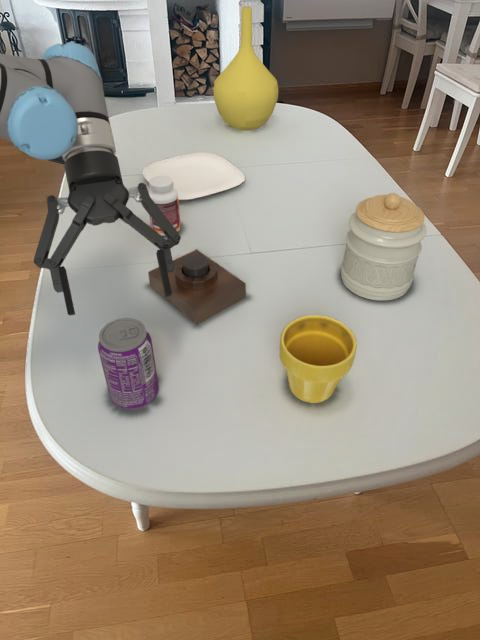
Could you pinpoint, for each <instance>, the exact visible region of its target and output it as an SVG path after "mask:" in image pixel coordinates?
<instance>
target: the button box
mask: <svg viewBox="0 0 480 640" xmlns="http://www.w3.org/2000/svg"><path fill="white" fill-rule="evenodd" d="M190 255H202V256H204V257H206V258H207V260H208V274H207V275H205V276H203V277H200V278H190V277H186V276H185V275H184V273H183V263H182V262H183V260H184V258H186V257H187V256H190ZM172 260H173V264H174V269H173V272H169V273H168V277H169V282H170V286H171V291H172V295H171V296H169V297H165V293H164V288H163V283H162V279H161V274H160V269H159V266H158V267H155V268H154V269H152V270H149V271H148V272H147V275H148V281H149V286H150V287H151V288H152V289H153V290H154V291H155V292H156V293H158V294H159V295H161V297H163V298H164V300H166V301H168V302H169V303H170V304H171V305H172V306H174V308H176V309H177V310H178V311H179V312H181V313H182V314H183V315H184V316H185V317H187V318H188V319H189V320H190V321H192V322H193V323H194V324H195V325H199V324H201V323H203V322H204V321H206V320H208V319H210V318H212V317H214V316H215V315H217V314H219V313H220V312H222V311H224V310H226V309H228V308H230V307H231V306H233V305H235V304H237V303H238V302H240V301H242V300H244V299H246V297H247V295H246V294H247V293H246V291H247V289H246V287H247V284H246V282H245V281H243V280H241V279H240V278H238V277H237V276H236V275H234V274H233V273H232V272H230V271H229V270H227V269H226V268H225V267H223V266H221V265H220V264H218V263H217V262H216V261H214V260H213V259H211V258H210V257H208V256H207V255H205V254H204V253H203V252H202V251H200V250H198V249H194V250H192V251H190V252H187V253H185V254H184V255H181V256H179V257H177V258H175V259H172Z"/></svg>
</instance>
